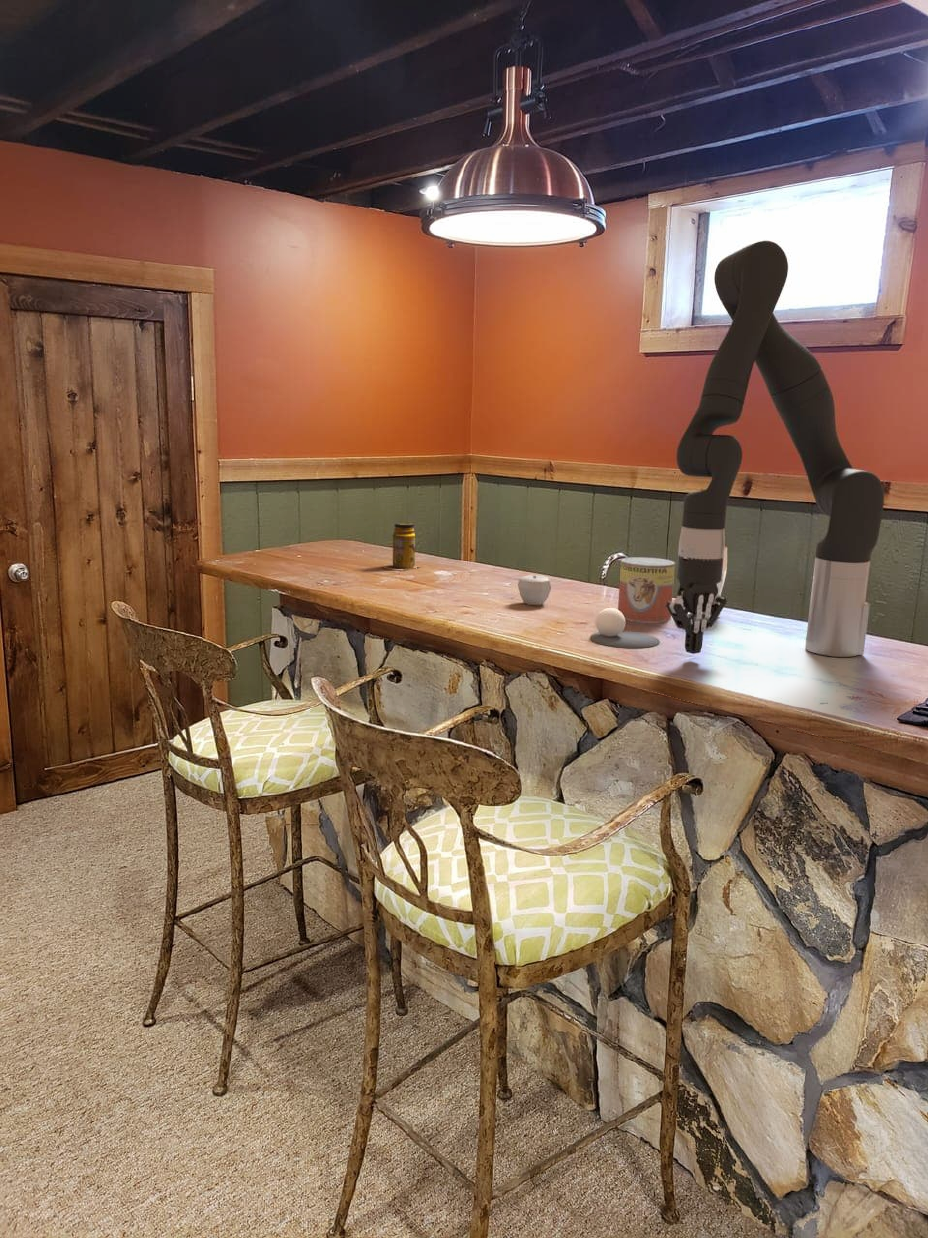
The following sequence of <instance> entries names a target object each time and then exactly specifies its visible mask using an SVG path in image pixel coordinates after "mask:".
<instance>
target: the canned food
mask: <svg viewBox="0 0 928 1238" xmlns="http://www.w3.org/2000/svg"><path fill="white" fill-rule="evenodd" d="M675 565H676V562H675V561H674V560H670V559H666V558H657V557H649V556H648V557H646V556H633V557H629V556H628V557H623V558H621V559H620V571H619V572H620V573H619V574H620V575H619V587H618V589H619V591H618V604H617V610H619V611H620V612H621V613H622V614H623V616H624V618H625V619H626V620H625V621H628V620H631V621H630V622H634V621H636V622H635V623H642V622H661V623H666V621H667V622H669V620H670V621H671V620H672V616H671V614H670V612H669V611H668V609H667V607H666V604H667V602H669V601H670V602H673V592H674V580H675V570H676V569H675V567H676V566H675Z"/></svg>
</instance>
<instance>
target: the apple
mask: <svg viewBox="0 0 928 1238" xmlns="http://www.w3.org/2000/svg"><path fill="white" fill-rule="evenodd" d="M517 587H518V591H519V595H520V598H521V599H522V601H523V603H524V604H525V605H528V606H541V605H543V604H545V602H546V601H547V600H548V598H549V596H550V593H551V591H552V590H551V589H552V585H551V581H550V579H549V577H548V576H544V575H539V574H538V575H537V574H530V575H524V576H520V577H519V579H518V582H517Z"/></svg>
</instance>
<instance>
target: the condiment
mask: <svg viewBox="0 0 928 1238" xmlns="http://www.w3.org/2000/svg"><path fill="white" fill-rule="evenodd" d="M393 530H394V532H393V533H392V564H390V565H389V564H388V565H381V566H380V567H382V568H385V569H387V570H393V571H403V570H412V569H411V568H414V567H415V564H416V563H415V562H416V534H415V525H414V523H412V522H395V523H394V529H393Z"/></svg>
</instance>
